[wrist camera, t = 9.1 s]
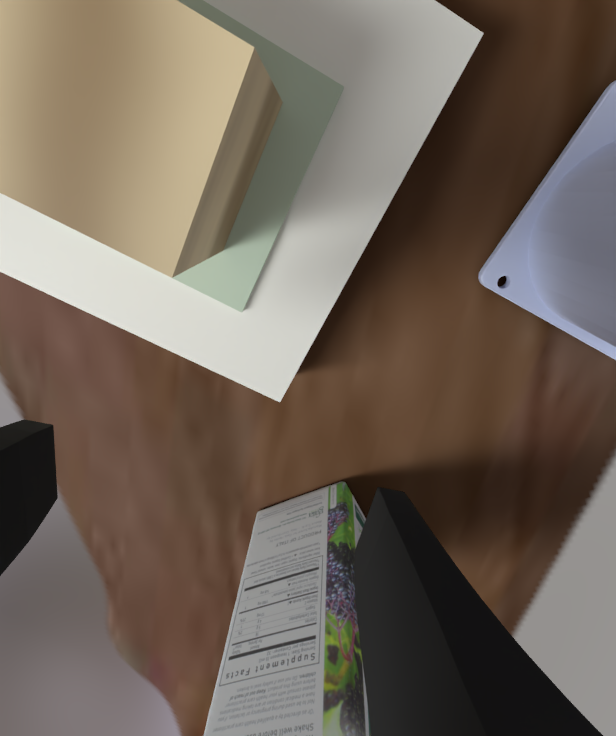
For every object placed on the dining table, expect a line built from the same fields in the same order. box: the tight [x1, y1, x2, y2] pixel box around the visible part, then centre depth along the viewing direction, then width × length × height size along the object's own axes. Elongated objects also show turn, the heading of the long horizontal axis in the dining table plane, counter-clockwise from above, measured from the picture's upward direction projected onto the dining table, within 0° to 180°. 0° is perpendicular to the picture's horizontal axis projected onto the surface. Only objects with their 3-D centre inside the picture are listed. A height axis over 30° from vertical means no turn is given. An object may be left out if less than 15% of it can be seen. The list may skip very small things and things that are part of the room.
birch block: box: [0, 0, 283, 278], centre depth 10 cm, size 5×5×5 cm
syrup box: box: [204, 482, 371, 736], centre depth 16 cm, size 6×6×14 cm
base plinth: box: [0, 0, 484, 402], centre depth 14 cm, size 14×14×3 cm
